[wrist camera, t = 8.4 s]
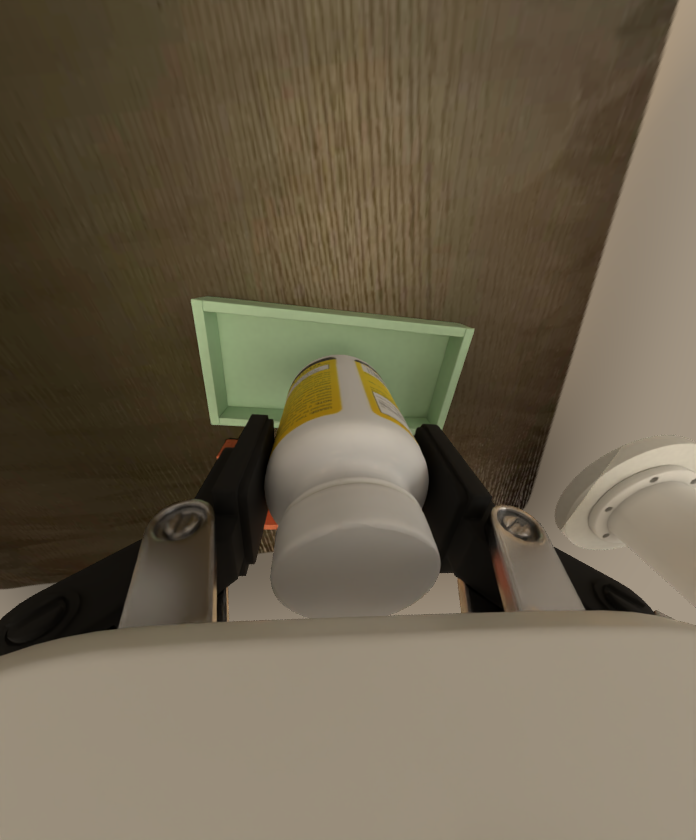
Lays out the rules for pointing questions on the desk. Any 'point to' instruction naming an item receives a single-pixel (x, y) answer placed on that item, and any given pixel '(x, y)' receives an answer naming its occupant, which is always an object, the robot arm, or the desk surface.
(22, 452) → the desk surface
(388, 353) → the bottle tray
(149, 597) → the robot arm
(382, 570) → the supplement bottle
